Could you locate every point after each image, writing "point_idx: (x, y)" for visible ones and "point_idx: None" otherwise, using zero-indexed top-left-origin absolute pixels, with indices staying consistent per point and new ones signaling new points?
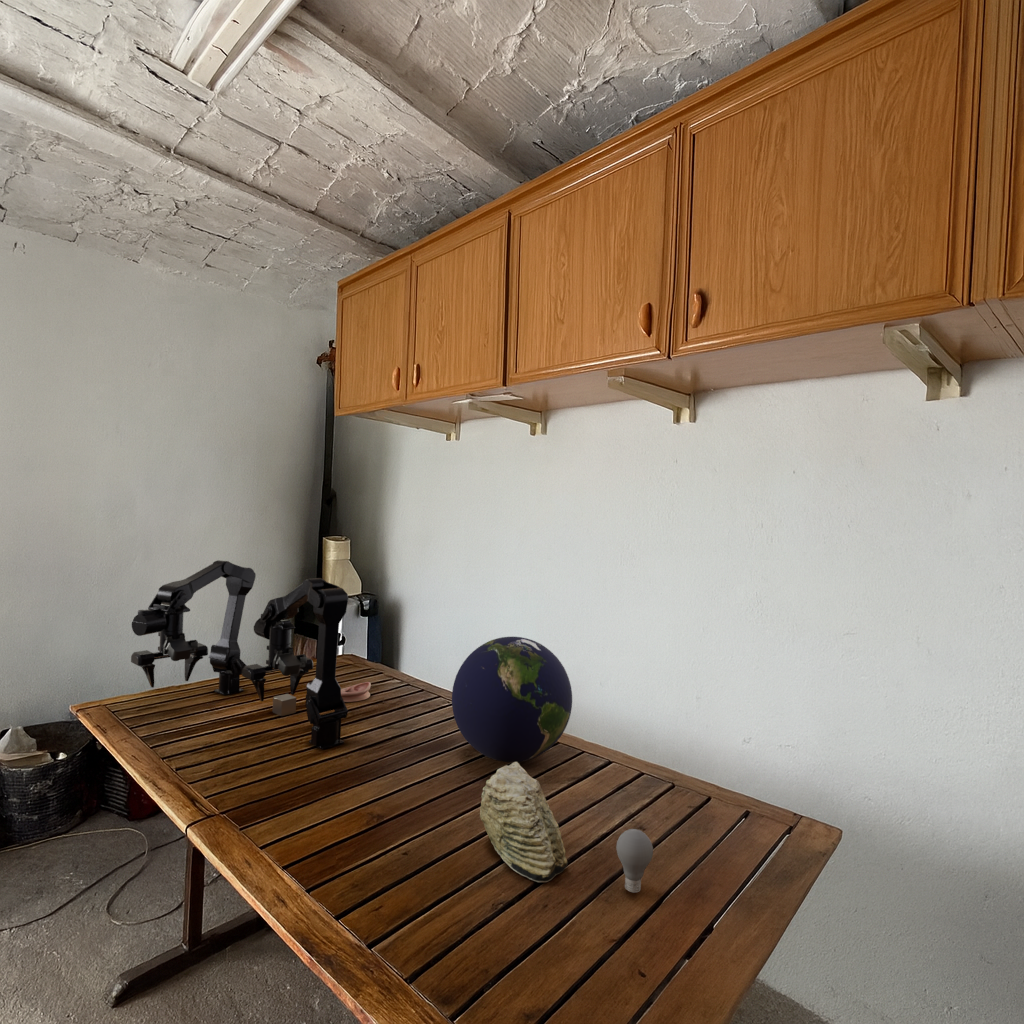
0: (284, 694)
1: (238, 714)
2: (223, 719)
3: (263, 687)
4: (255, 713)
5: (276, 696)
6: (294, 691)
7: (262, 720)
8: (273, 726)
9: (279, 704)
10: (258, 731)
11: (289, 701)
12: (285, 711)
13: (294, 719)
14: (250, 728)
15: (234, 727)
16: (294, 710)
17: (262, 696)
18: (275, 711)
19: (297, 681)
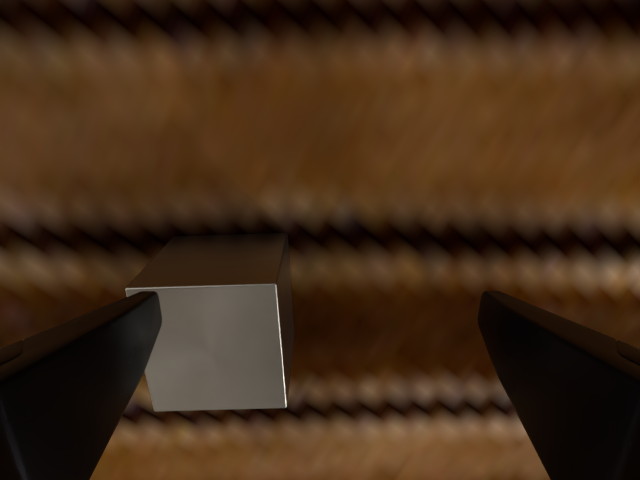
0: (183, 407)
1: (456, 411)
2: None
3: (613, 364)
4: (379, 373)
5: (259, 401)
6: (127, 300)
7: (417, 243)
8: (431, 82)
9: (282, 296)
10: (568, 56)
11: (202, 276)
12: (252, 242)
13: (240, 118)
14: (562, 155)
15: (612, 239)
16: (179, 241)
17: (530, 308)
18: (291, 308)
19: (19, 354)
